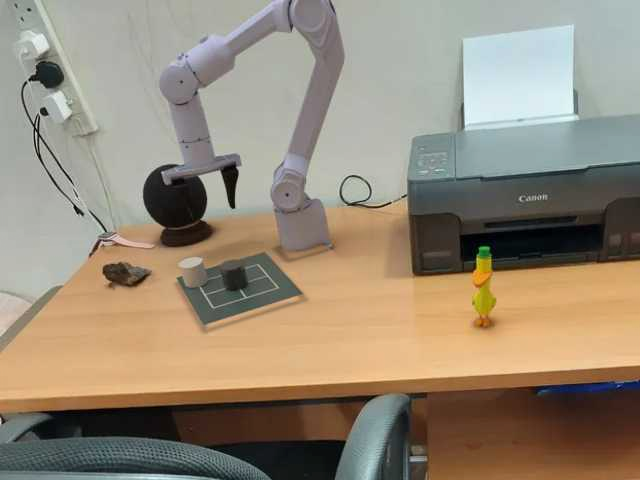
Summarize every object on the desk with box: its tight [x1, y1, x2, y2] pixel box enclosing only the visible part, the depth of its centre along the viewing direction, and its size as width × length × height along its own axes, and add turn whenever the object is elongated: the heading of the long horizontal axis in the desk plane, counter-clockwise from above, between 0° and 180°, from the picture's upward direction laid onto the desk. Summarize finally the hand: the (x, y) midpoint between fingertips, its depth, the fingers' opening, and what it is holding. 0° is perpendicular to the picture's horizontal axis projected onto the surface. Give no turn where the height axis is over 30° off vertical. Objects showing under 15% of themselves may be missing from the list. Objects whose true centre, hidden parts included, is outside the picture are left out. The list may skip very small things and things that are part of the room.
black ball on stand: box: [142, 163, 213, 248], centre depth 141 cm, size 13×13×15 cm
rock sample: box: [101, 261, 153, 286], centre depth 128 cm, size 10×8×9 cm
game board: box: [176, 251, 304, 326], centre depth 120 cm, size 18×22×1 cm
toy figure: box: [471, 246, 497, 328], centre depth 98 cm, size 7×4×12 cm, turn 158°
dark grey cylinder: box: [219, 258, 249, 291], centre depth 119 cm, size 4×4×4 cm
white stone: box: [178, 256, 208, 288], centre depth 122 cm, size 4×4×4 cm
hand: (213, 212), depth 127 cm, fingers open, 7 cm apart
